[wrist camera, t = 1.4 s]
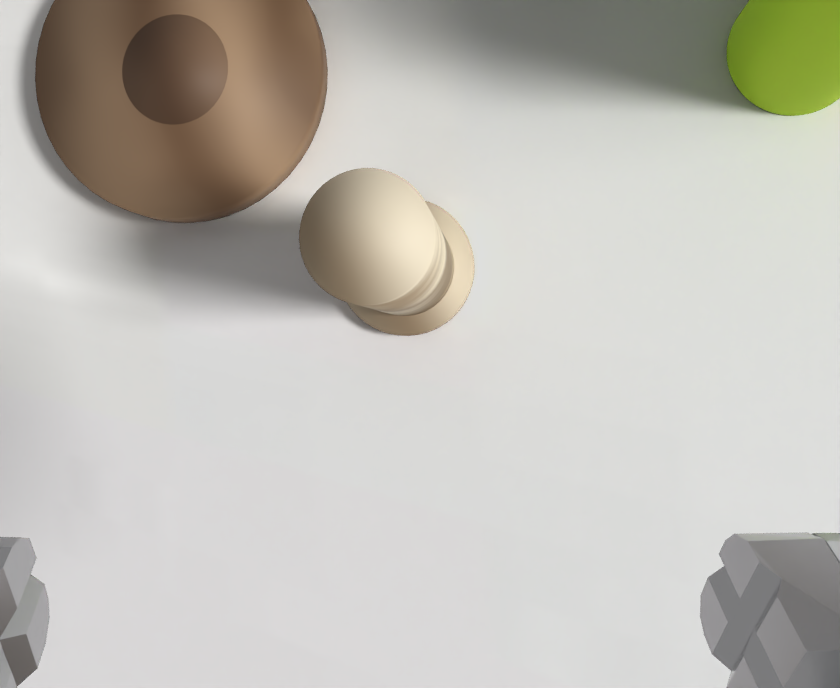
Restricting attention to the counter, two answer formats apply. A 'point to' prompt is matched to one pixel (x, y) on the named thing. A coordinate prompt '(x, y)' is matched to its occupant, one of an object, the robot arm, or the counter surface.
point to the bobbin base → (181, 99)
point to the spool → (386, 252)
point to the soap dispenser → (787, 54)
